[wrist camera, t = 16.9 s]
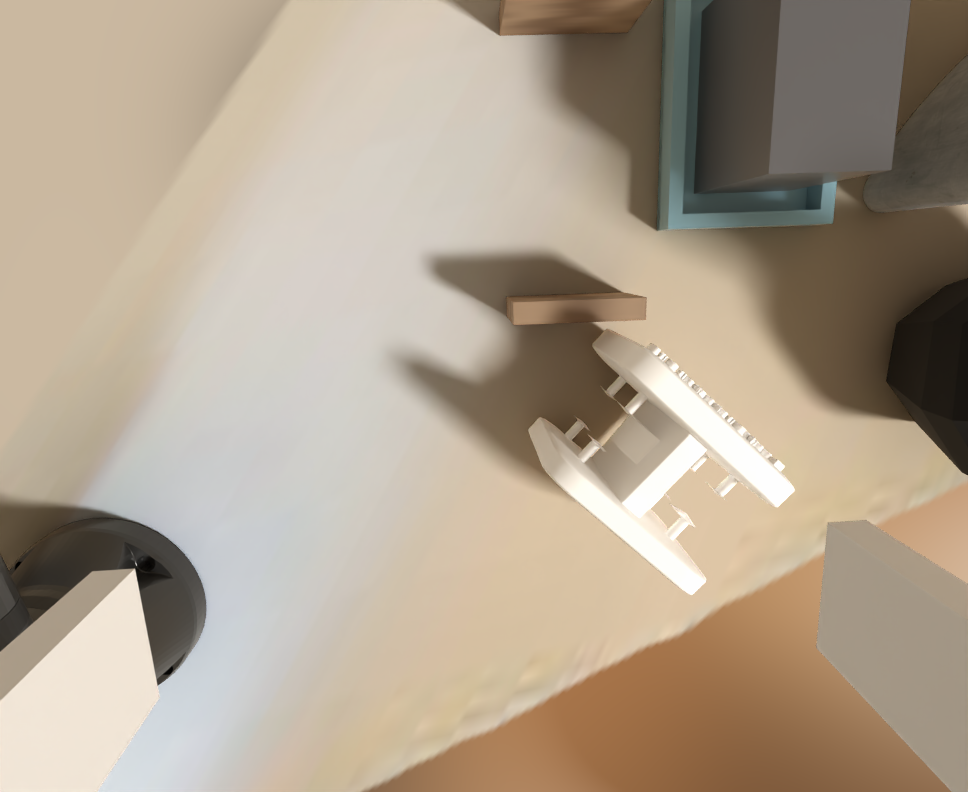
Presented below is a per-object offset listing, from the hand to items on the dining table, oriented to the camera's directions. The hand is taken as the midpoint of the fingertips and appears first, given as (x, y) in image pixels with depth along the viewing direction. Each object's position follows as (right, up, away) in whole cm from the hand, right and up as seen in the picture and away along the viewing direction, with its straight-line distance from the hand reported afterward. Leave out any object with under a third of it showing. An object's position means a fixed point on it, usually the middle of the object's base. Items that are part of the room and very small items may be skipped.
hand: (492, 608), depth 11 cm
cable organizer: (+11, +1, +38) cm, 39 cm away
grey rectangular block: (+19, +25, +31) cm, 44 cm away
